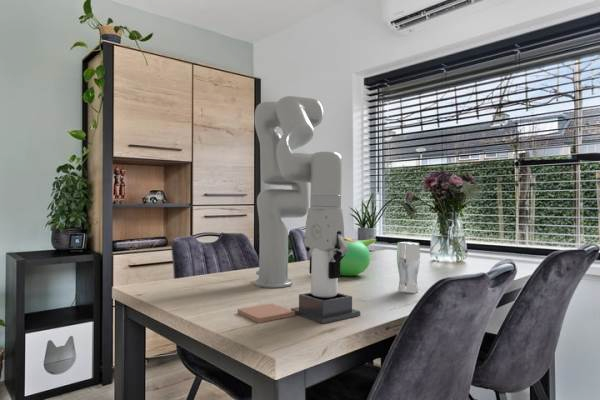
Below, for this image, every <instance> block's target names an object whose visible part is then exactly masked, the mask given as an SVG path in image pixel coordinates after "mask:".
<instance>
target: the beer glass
mask: <svg viewBox="0 0 600 400" xmlns="http://www.w3.org/2000/svg"><path fill="white" fill-rule="evenodd" d="M396 247H397V249H396V263H397V264H396V265H397V270H398V271H397V272H398V276H399V280H398V288H397V291H398V292H399V293H403V294H417V293H419V287H418V275H419V269H420V264H421V263H420V262H421V251H420V250H421V249H420V242H417V241H416V242H413V241H398V242H397V246H396Z"/></svg>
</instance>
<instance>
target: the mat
mask: <svg viewBox="0 0 600 400" xmlns="http://www.w3.org/2000/svg"><path fill="white" fill-rule="evenodd" d="M237 314H238V315H240V316H243V317H244V318H247V319H250V320H252V321H253V322H254V321H255V322H256V323H258V324H259V323H265V322H270V320H271V321H276V320H280V318H281V319H285V318H286V319H287V318H289V317H296V314H295V311H292V310H291V309H289V308H286V307H283V306H281V305H278V304H274V303H272V302H271V303H266V304H262V305H255V306H248V307H247V306H246V307H243V308H237ZM275 319H276V320H275Z"/></svg>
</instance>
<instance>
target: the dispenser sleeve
mask: <svg viewBox="0 0 600 400" xmlns="http://www.w3.org/2000/svg"><path fill="white" fill-rule="evenodd" d="M290 310H292V311H295V315H296V314H297V315H296V316H299V315H300V316H299V317H303V318H304V319H307V318H308V319H307V320H310V319H311V320H310V321H313V320H314V321H313V322H316V321H317V322H316V323H318V322H319V324H321V323H324V324H327V323H328V322H329V323H333V322H337V320H338V321H343V320H347V319H350V318H351V319H352V318H354V317H360V316H361V310H357V309H354V308H353V296H351V295H348V294H344V293H340V292H337V295H336V296H335V297H332V298H319V297H315V296H313V295H312V294H311V292H306V293H299V294H298V306H297V307H292V308H290ZM346 318H347V319H346ZM332 321H333V322H332Z"/></svg>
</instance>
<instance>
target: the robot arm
mask: <svg viewBox="0 0 600 400" xmlns="http://www.w3.org/2000/svg"><path fill="white" fill-rule="evenodd" d="M254 110H255V112H254V126H255V127H254V128H255V132H256V134H257V135H256V136H257V138H258V142H259V149H260V150H259V151H260V152H259V153H260V154H259V155H260V176H261V177H260V179H261V180H262V183H264V184H265V185H269V186H285V187H286V186H290V187H291V189H286V188H285V189H284V188H268V189H264V190H262V191H260V192H259V193H258V195H257V198H256V206H257V207H256V208H257V213H258V223H259V226H258V227H259V228H258V229H259V233H258V234H259V253H258V254H259V259H258V260H259V261H258V262H259V269H258V270H256V272H255V274H256V275H258V279H257V278H256V279H255V280H253V281H254V283H253V284H254V285H255V286H257V287H260V288H269V289H271V288H272V289H273V288H274V289H275V288H286V287H290V286H292V285H293V280H292V279H290V278H289V232H288V231H289V230H288V227H287V226H286V225H285V223H284V222H283V220H282V219H285V218H286V219H287V218H291V219H292V218H294V219H295V218H303V217H305V216H306V220H305V221H306V222H305V230H304V231H305V232H304V234H305V235H304V239H303V244H304V246H305V248H306V249H305V250H306V251H307V257H308V258H309V274H310V275H311V264H312V251H313V249H314V248H318V249H320V250H326V251H327V250H328V252H329V256H330V259H331V262H329V278H330V279H334V278H338V279H340V278H341V275H340V261H342V258H343V257H344V256H345V253H346V252H347V251H348V250H349V246H348V244H347V243H346V241H345V240H344V237H345V222H344V215H343V214H344V213H343V210H342V170H343V169H342V165H343V163H342V162H343V161H342V160H343V159H342V155H341V154H340V153H338V152H335V151H317V152H314V153H304V152H300V153H299V152H292V151H294V150H297V149H298V148H301V147H303V146H305V145H307V144H308V143H309V142H310V141H311V140H313V137H314V132H315V131H314V128H316V127H318V126H319V125H320V124H321V123H322V121H323V118H324V109H323V105H322V103H321V102H320V101H319V100H318V99H315V98H313V97H302V96H295V95H288V96H287V95H286V96H284V97H281V98H280V99H279V100H277V101H262V102H260V103H259V104H258V105H256V108H255V109H254ZM276 129H280V130H281V131H282V133H283V134H282V136H281V134H280V133H279V132H278V131H277V130H276ZM309 183H310V187H309ZM309 191H310V193H309ZM309 196H310V197H309ZM334 247H335V248H334ZM334 252H336V254H335V255H334Z"/></svg>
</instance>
